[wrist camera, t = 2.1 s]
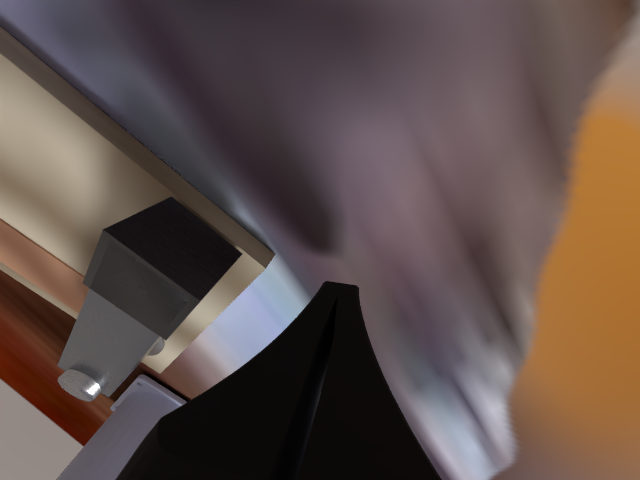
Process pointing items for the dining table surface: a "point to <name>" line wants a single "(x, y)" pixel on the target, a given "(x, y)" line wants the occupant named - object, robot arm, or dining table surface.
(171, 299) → the leg
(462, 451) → the dining table surface
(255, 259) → the board
